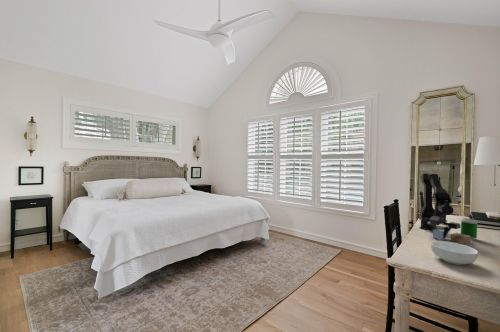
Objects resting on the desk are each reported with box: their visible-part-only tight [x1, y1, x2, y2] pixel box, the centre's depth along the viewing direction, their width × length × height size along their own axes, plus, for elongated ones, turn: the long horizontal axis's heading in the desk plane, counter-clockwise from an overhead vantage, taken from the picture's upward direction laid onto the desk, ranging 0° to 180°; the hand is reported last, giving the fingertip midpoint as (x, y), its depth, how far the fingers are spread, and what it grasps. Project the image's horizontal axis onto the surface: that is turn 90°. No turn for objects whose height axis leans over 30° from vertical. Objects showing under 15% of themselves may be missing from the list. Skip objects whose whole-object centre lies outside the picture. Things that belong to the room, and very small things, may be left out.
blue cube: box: [432, 229, 447, 241], centre depth 150 cm, size 5×5×5 cm
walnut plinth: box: [449, 232, 471, 245], centre depth 144 cm, size 7×7×4 cm
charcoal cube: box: [436, 225, 445, 230], centre depth 159 cm, size 5×5×5 cm
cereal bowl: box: [430, 240, 479, 266], centre depth 114 cm, size 17×17×7 cm
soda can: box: [460, 217, 478, 241], centre depth 151 cm, size 8×8×12 cm
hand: (439, 236), depth 150 cm, fingers closed on blue cube, 5 cm apart
